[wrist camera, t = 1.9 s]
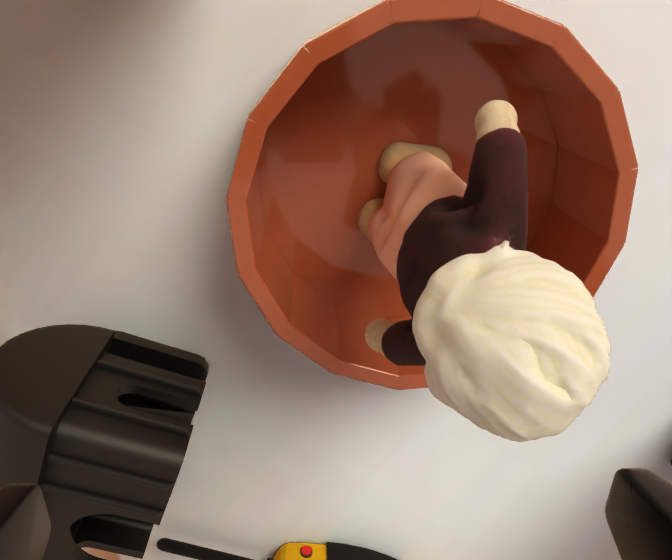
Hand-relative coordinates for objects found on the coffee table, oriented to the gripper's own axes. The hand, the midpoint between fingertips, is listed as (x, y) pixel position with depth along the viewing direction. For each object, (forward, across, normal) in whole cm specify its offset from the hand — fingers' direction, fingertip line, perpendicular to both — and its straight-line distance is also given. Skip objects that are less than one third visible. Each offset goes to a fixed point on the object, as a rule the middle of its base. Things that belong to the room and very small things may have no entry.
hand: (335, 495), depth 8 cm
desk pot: (+14, -3, -1) cm, 14 cm away
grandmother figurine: (+14, -3, -1) cm, 14 cm away
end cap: (+14, +10, +9) cm, 19 cm away
